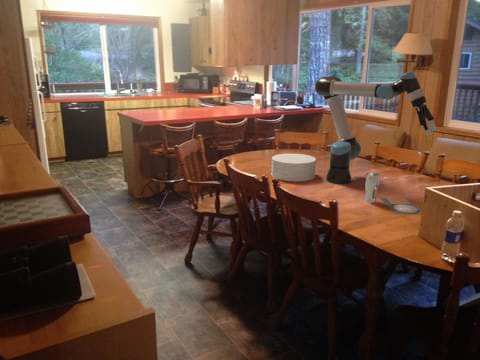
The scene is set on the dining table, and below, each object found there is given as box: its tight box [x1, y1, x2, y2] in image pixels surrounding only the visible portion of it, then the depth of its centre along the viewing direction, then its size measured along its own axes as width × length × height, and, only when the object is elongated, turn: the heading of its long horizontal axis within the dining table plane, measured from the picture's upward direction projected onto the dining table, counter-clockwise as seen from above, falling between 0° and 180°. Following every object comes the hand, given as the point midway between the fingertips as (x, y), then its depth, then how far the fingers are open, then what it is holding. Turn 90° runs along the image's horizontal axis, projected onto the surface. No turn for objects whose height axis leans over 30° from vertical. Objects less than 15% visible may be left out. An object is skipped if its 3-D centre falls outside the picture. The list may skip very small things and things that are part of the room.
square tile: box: [384, 196, 411, 205], centre depth 216 cm, size 10×10×1 cm
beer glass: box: [364, 172, 380, 204], centre depth 216 cm, size 7×7×15 cm
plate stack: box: [270, 153, 317, 182], centre depth 267 cm, size 28×28×12 cm
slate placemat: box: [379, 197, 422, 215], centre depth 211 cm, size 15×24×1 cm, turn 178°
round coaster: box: [394, 204, 418, 215], centre depth 205 cm, size 11×11×1 cm
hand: (432, 133), depth 232 cm, fingers open, 13 cm apart
